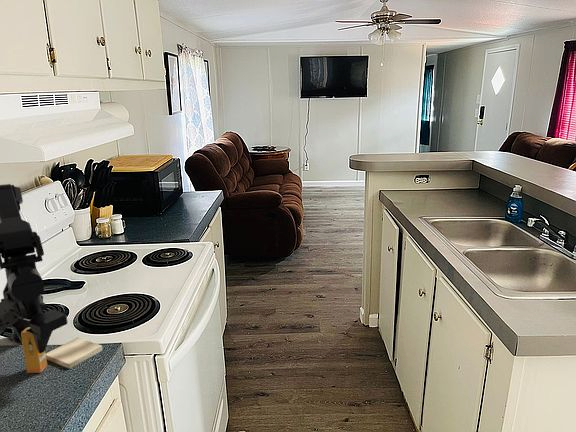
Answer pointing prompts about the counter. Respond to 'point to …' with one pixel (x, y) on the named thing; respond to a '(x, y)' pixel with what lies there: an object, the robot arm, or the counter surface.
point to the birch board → (73, 352)
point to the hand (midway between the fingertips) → (34, 349)
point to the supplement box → (32, 354)
